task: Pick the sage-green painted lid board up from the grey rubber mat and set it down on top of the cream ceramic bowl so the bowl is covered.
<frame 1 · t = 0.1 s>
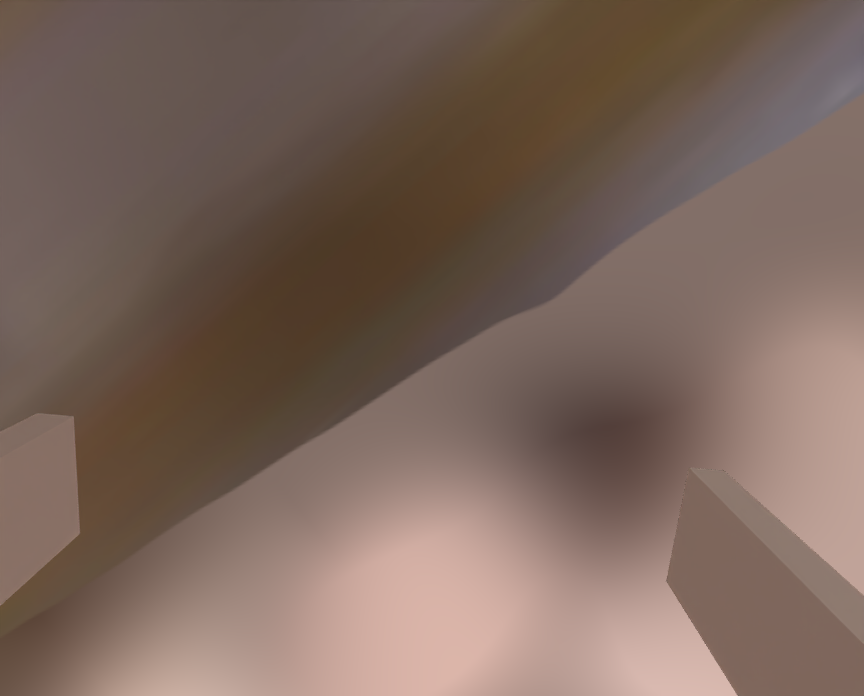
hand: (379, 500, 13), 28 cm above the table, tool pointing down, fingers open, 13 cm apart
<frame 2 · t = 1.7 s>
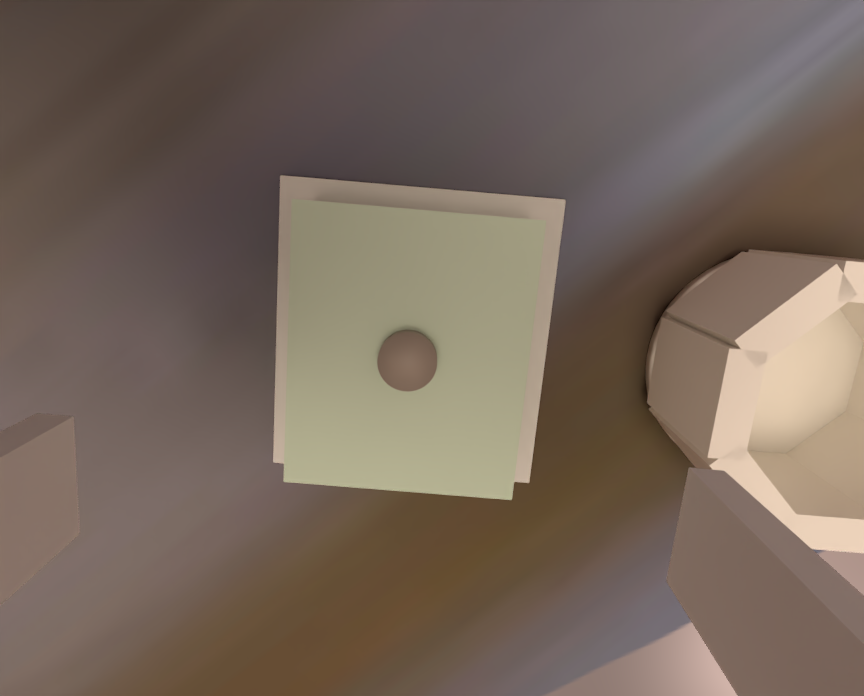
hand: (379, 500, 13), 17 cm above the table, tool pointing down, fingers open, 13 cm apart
lid: (411, 337, 28), resting on mat
bowl: (757, 364, 29), on the table
mat: (412, 336, 29), on the table
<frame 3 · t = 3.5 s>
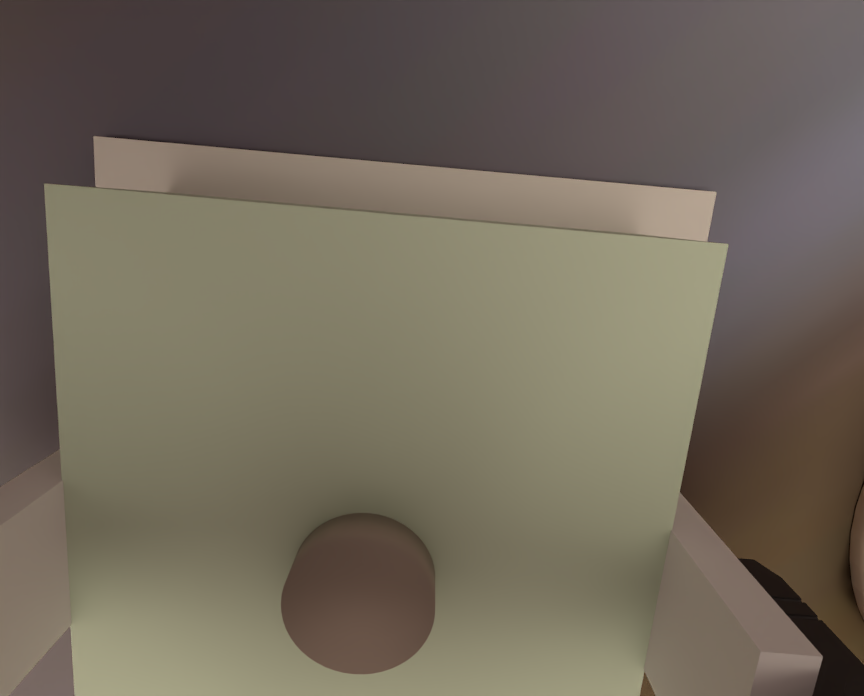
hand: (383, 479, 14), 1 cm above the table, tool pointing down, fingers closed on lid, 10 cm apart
lid: (384, 474, 14), resting on mat, touching gripper
mat: (385, 467, 14), on the table
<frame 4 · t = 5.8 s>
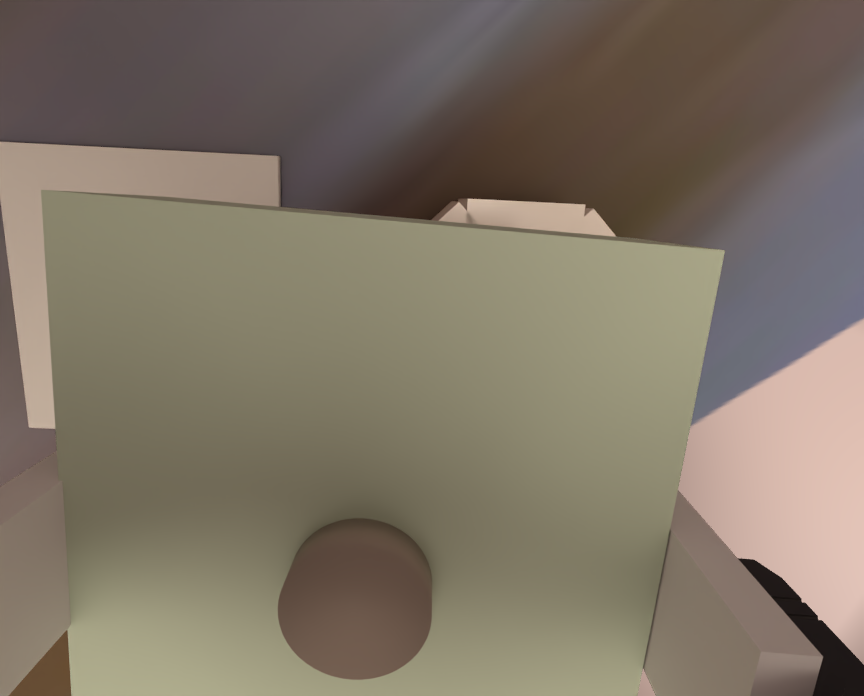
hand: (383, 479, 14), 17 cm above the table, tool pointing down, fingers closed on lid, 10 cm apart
lid: (382, 478, 14), point 16 cm above the table, touching gripper
bowl: (492, 313, 30), on the table
mat: (150, 297, 29), on the table
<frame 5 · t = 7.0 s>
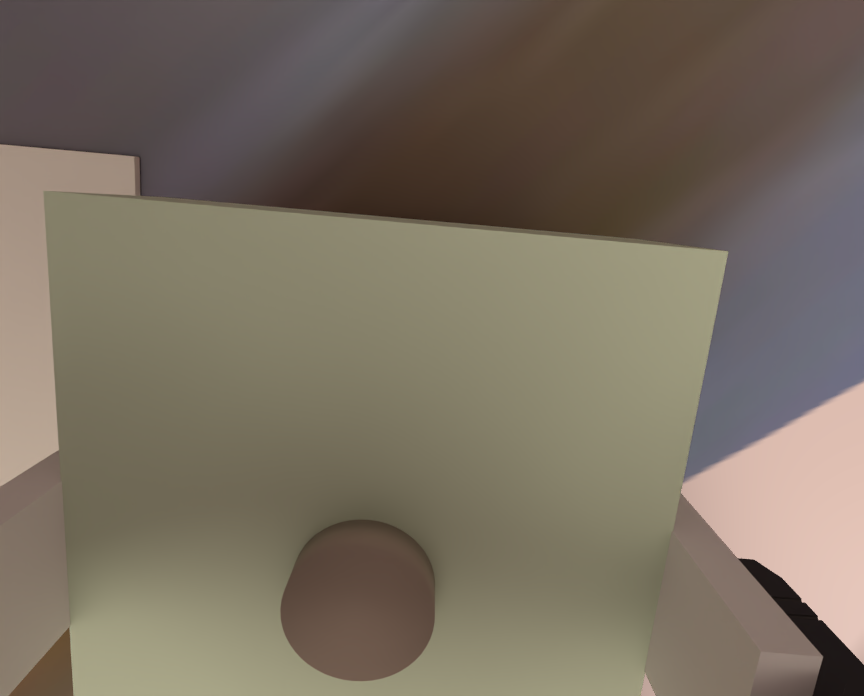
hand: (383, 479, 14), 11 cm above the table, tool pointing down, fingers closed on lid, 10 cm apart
lid: (384, 479, 14), point 11 cm above the table, touching gripper
when the fingers open (9 cm above the table, at t = 7.8 s): lid drops 1 cm, resting on bowl.
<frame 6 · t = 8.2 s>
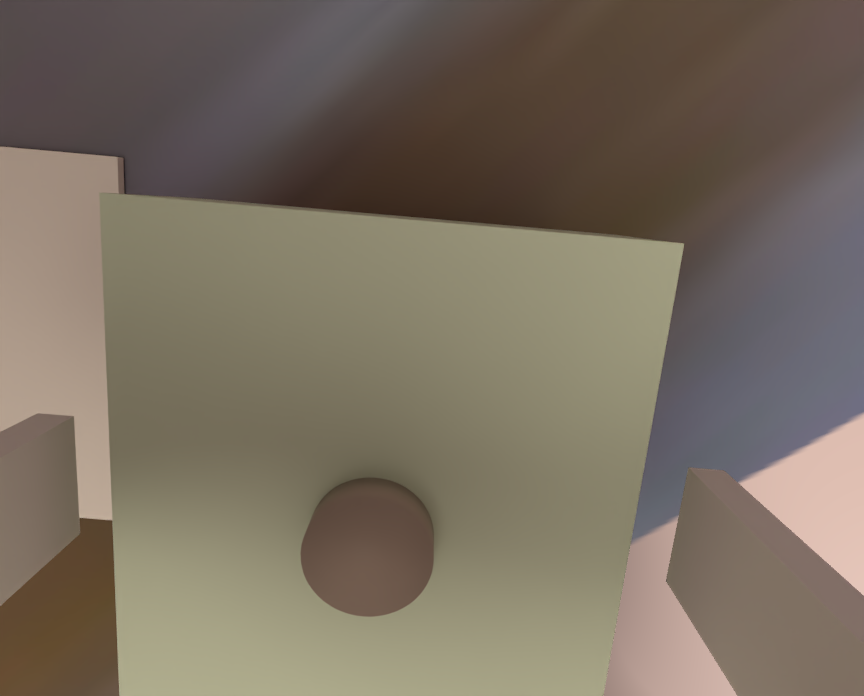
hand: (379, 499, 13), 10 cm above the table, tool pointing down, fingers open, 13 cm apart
lid: (388, 452, 15), point 7 cm above the table, touching bowl
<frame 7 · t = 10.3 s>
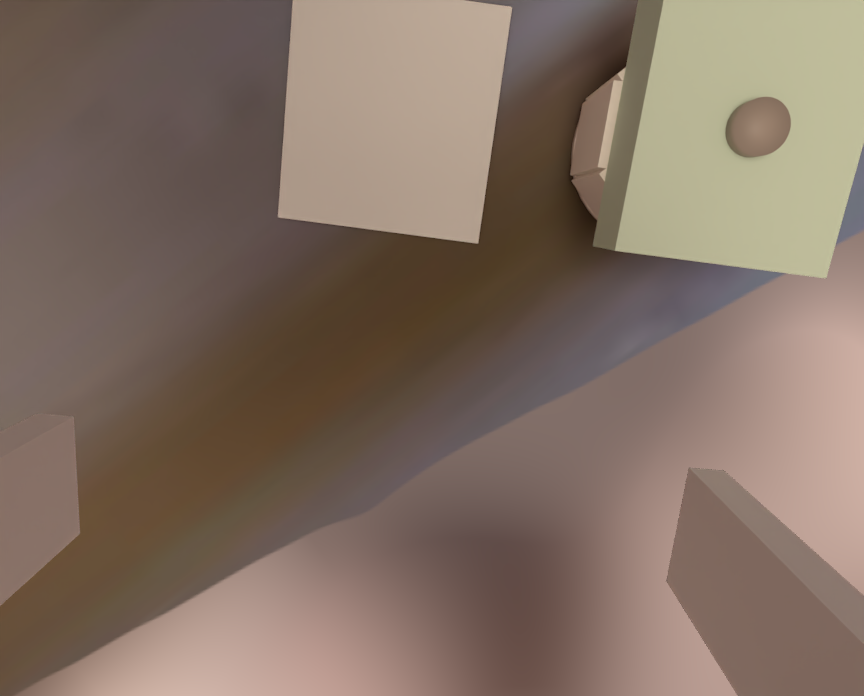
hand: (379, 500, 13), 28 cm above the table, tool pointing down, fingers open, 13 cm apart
lid: (711, 140, 30), point 7 cm above the table, touching bowl
bowl: (658, 153, 37), on the table
mat: (391, 117, 37), on the table
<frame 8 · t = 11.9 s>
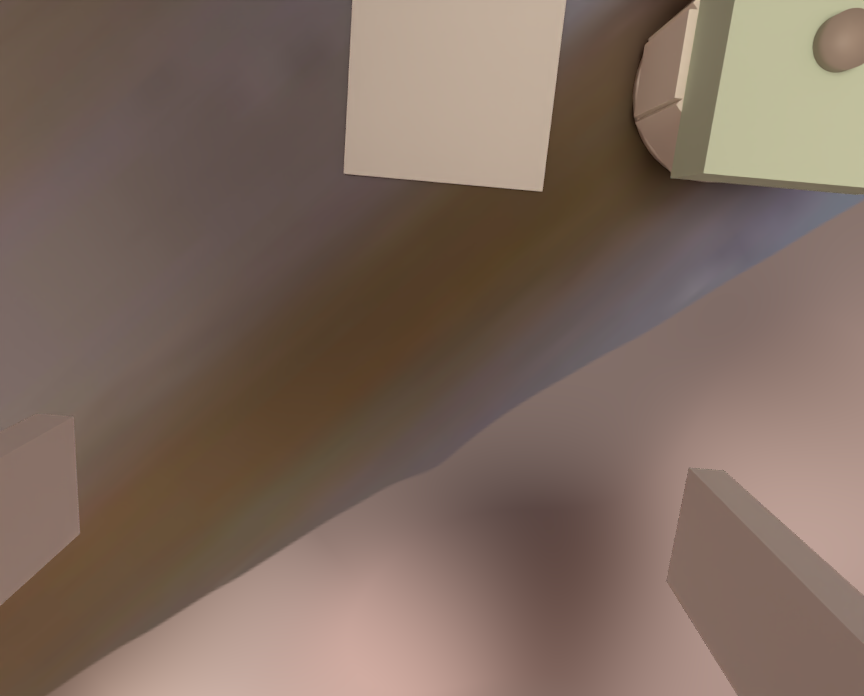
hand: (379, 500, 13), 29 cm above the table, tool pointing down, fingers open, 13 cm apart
lid: (787, 65, 30), point 7 cm above the table, touching bowl
bowl: (719, 92, 37), on the table
mat: (453, 68, 37), on the table
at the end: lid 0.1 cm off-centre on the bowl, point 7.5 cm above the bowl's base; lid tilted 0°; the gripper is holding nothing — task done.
